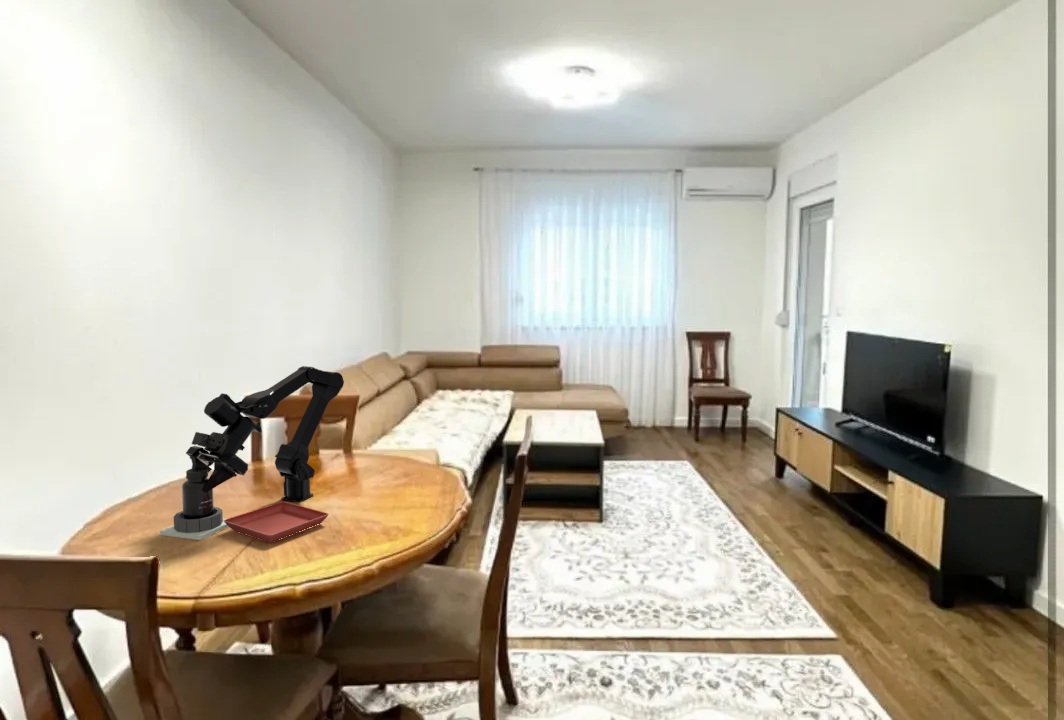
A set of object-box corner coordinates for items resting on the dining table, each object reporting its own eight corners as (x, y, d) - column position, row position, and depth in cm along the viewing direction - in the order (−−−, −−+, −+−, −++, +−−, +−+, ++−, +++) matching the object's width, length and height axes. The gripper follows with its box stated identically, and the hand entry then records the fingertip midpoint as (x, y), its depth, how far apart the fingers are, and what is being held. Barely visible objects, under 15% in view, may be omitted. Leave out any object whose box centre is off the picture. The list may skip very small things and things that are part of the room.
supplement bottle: (208, 521, 159) (206, 473, 157) (178, 522, 158) (176, 474, 156) (218, 511, 166) (215, 465, 164) (189, 512, 164) (187, 466, 163)
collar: (231, 520, 165) (231, 508, 165) (200, 534, 155) (199, 522, 155) (197, 516, 168) (197, 504, 168) (164, 530, 158) (164, 518, 158)
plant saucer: (330, 525, 166) (330, 512, 166) (270, 548, 151) (269, 534, 150) (283, 512, 175) (283, 500, 175) (222, 533, 160) (221, 520, 160)
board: (236, 523, 166) (236, 519, 166) (200, 540, 154) (200, 536, 154) (197, 518, 169) (197, 514, 169) (159, 534, 158) (159, 530, 158)
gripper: (191, 415, 168) (150, 466, 160) (234, 423, 158) (193, 478, 150) (221, 439, 175) (183, 489, 167) (264, 448, 166) (226, 502, 158)
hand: (195, 489), depth 160 cm, fingers closed on supplement bottle, 7 cm apart
